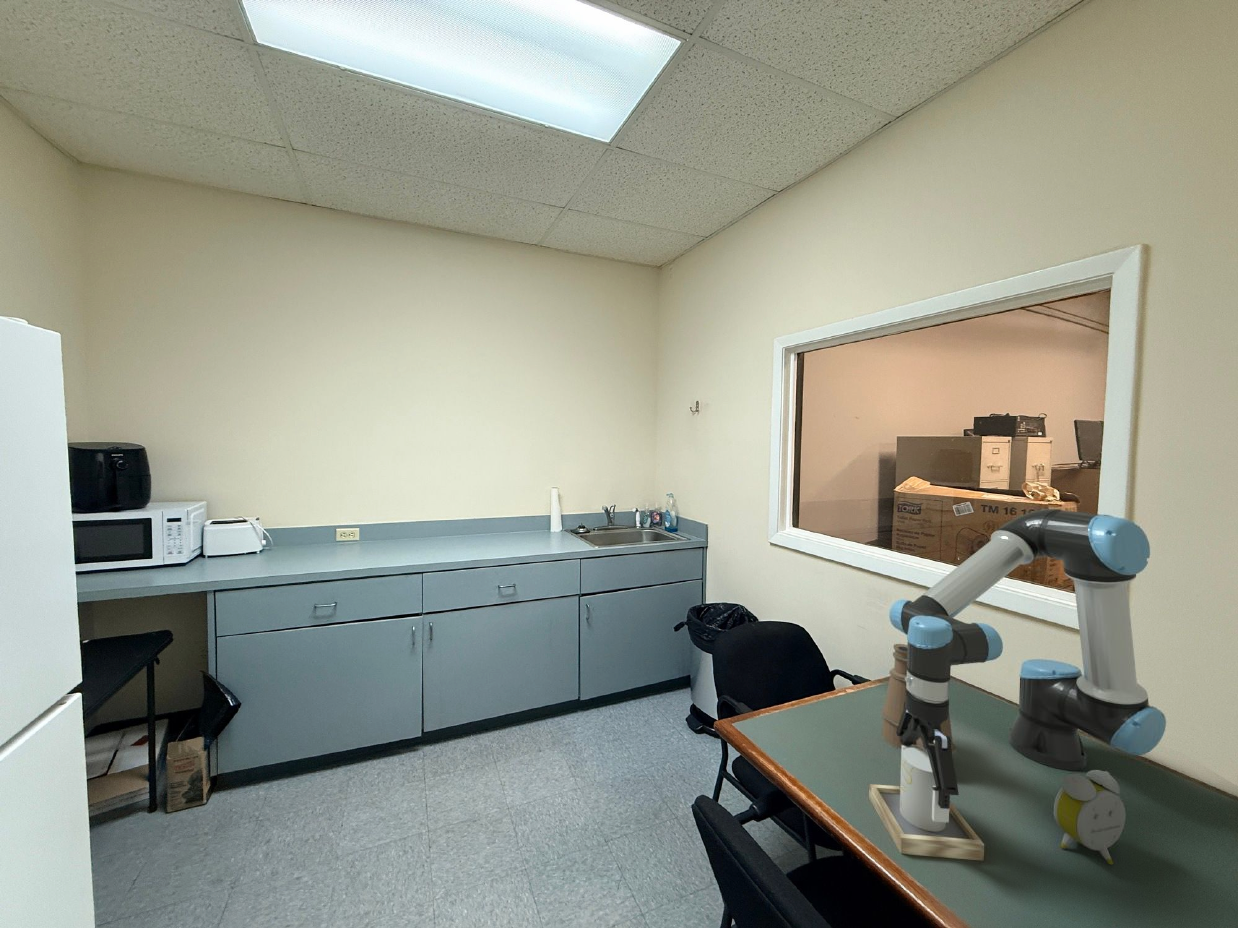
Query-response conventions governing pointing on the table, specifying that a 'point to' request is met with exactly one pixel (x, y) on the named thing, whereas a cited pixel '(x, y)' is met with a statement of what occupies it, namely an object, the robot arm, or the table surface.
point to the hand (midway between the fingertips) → (922, 796)
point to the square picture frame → (916, 841)
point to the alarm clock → (1090, 811)
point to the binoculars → (901, 702)
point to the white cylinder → (917, 790)
